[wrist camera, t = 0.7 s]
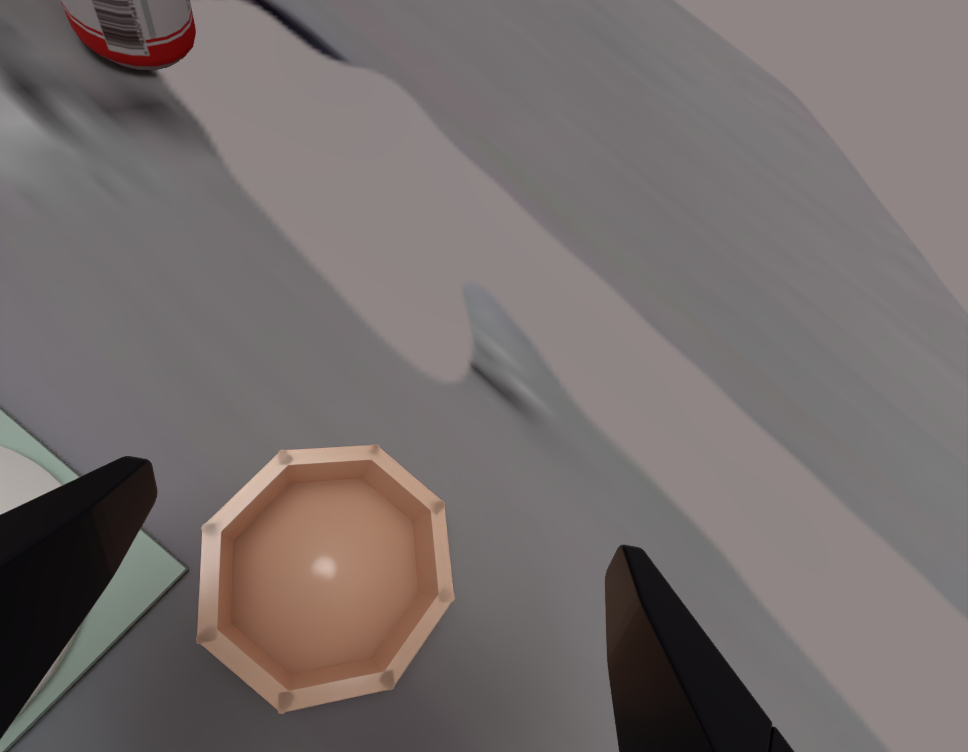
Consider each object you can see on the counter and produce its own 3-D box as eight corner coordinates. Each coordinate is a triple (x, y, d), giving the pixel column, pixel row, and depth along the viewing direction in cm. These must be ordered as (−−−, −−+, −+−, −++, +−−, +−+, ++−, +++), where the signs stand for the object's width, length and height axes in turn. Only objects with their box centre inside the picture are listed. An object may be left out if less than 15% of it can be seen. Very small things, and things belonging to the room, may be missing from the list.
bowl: (333, 733, 21) (340, 767, 17) (165, 590, 21) (134, 590, 17) (464, 550, 26) (493, 543, 22) (324, 431, 26) (328, 402, 22)
